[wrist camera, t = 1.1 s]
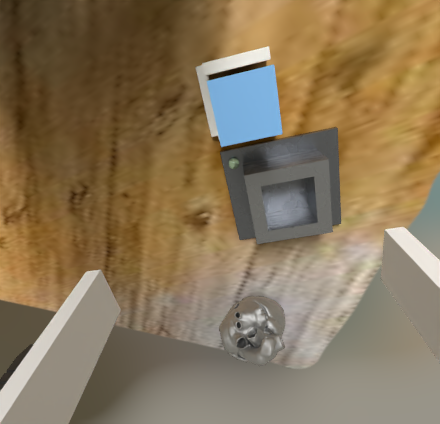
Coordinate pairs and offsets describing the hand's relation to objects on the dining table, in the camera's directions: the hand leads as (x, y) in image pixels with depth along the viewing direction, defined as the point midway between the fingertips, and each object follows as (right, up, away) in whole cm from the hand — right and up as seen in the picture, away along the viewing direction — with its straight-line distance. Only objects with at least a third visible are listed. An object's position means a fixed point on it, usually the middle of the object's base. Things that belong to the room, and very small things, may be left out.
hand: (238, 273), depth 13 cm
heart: (+4, -11, +30) cm, 32 cm away
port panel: (+7, +6, +21) cm, 23 cm away
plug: (+1, +15, +17) cm, 23 cm away
